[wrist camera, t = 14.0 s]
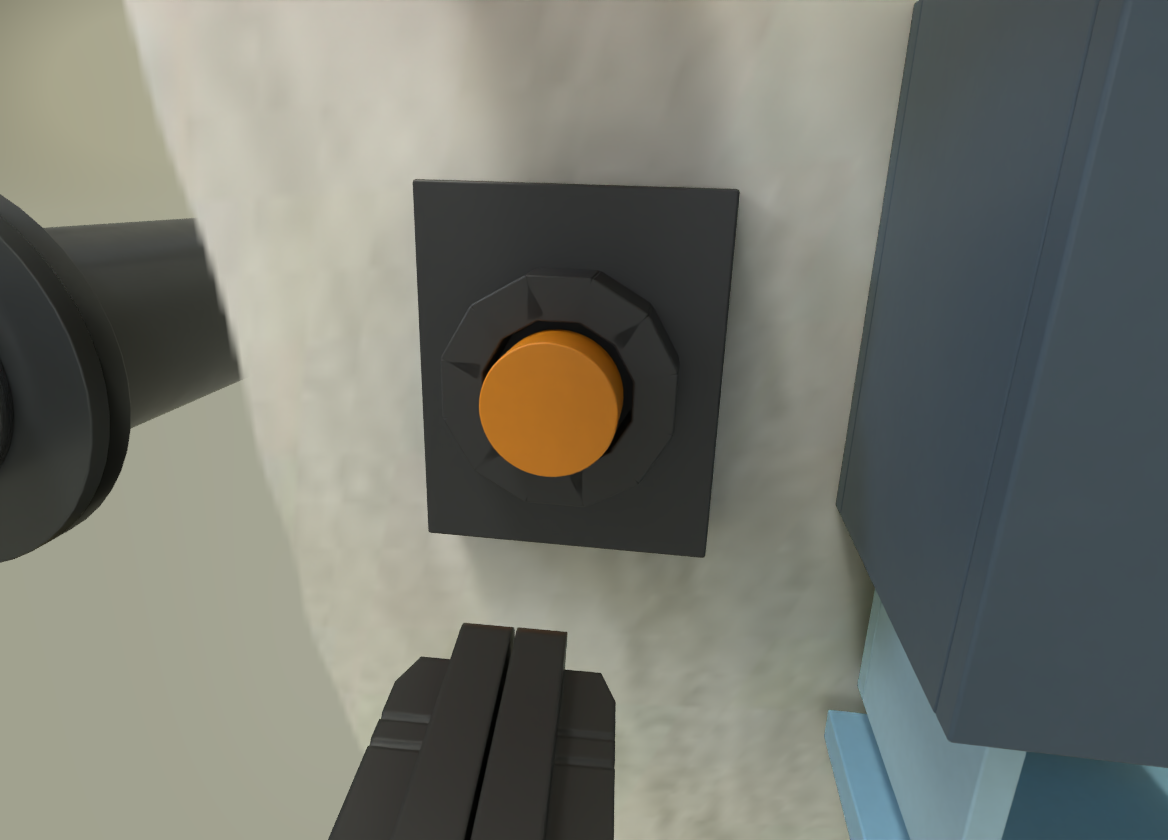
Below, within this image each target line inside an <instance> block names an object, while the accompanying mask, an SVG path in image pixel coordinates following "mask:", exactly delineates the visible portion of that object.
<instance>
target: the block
mask: <svg viewBox="0 0 1168 840" xmlns="http://www.w3.org/2000/svg"><path fill="white" fill-rule="evenodd" d="M739 193H740V192H739V190H737V189H717V188H685V187H653V186H620V185H588V184H556V183H524V182H492V181H460V180H425V179H415V180H413V198H414V220H415V242H416V264H417V286H418V308H419V330H420V352H421V374H422V396H423V419H424V441H425V463H426V485H427V507H428V529H429V532H430V533H441V534H452V535H463V536H474V537H484V538H495V539H506V540H517V541H528V542H539V543H549V544H560V545H571V546H582V547H593V548H604V549H614V550H625V551H636V552H647V553H658V554H669V555H679V556H690V557H701V558H703V557H705V553H706V542H707V532H708V521H709V511H710V500H711V489H712V479H713V468H714V458H715V447H716V437H717V426H718V415H719V405H720V394H721V384H722V373H723V363H724V352H725V341H726V331H727V320H728V310H729V299H730V289H731V278H732V267H733V257H734V246H735V236H736V225H737V215H738V204H739ZM551 329H561V330H569V331H573V332H576V333H579V334H582V335H584V336H586V337H588V338H590V339H592V340H593V341H595V342H596V343H597V344H599V345H600V346H601V347H602V348H603V349H604V350H605V351H606V352H607V353H608V354H609V356H610V357H611V358H612V360H613V361H614V363H615V364H616V366H617V368H618V371H619V373H620V376H621V380H622V384H623V396H624V399H623V407H622V410H621V414H620V418H619V421H618V425H617V428H616V432H615V435H614V437H613V440H612V442H611V444H610V445H609V447H608V449H607V450H606V451H605V453H604V454H603V455H602V456H601V457H600V458H599V459H598V460H597V461H596V462H595V463H593V464H592V465H591V466H589V467H588V468H586V469H584V470H582V471H580V472H577V473H574V474H571V475H567V476H560V477H545V476H538V475H534V474H530V473H528V472H525V471H523V470H520V469H519V468H517V467H515V466H513V465H512V464H510V463H509V462H507V461H506V460H505V459H504V458H503V457H502V456H501V455H499V453H498V452H497V451H496V450H495V449H494V448H493V446H492V445H491V443H490V442H489V440H488V438H487V436H486V434H485V432H484V429H483V426H482V423H481V419H480V413H479V398H480V392H481V388H482V385H483V382H484V380H485V378H486V376H487V374H488V372H489V371H490V369H491V368H492V366H493V365H494V364H495V363H496V362H497V361H498V360H499V359H500V358H501V357H502V356H503V355H504V354H505V353H506V352H507V351H508V350H510V349H511V348H512V347H513V346H514V345H515V344H516V343H518V342H519V341H520V340H522V339H523V338H525V337H527V336H529V335H531V334H533V333H536V332H540V331H544V330H551Z"/></svg>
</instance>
